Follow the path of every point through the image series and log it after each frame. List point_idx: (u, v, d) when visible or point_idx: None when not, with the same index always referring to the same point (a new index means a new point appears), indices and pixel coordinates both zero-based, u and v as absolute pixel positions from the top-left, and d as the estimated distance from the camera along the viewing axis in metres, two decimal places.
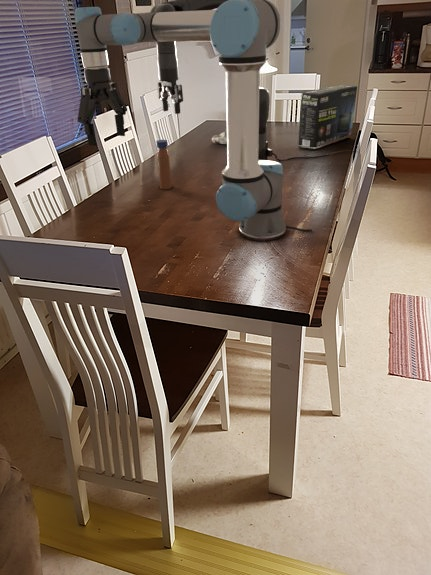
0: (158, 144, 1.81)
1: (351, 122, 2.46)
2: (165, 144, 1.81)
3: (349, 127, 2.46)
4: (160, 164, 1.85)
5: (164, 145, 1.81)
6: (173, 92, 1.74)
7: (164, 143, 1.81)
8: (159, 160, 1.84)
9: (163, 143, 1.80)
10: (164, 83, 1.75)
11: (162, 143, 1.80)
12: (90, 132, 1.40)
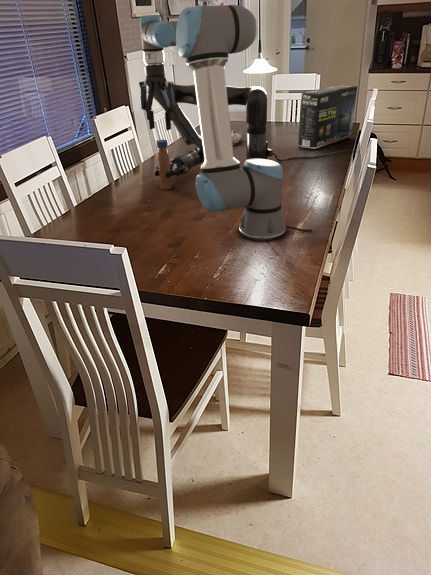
0: (158, 144, 1.81)
1: (351, 122, 2.46)
2: (165, 144, 1.81)
3: (349, 127, 2.46)
4: (160, 164, 1.85)
5: (164, 145, 1.81)
6: None
7: (164, 143, 1.81)
8: (159, 160, 1.84)
9: (163, 143, 1.80)
10: None
11: (162, 143, 1.80)
12: None
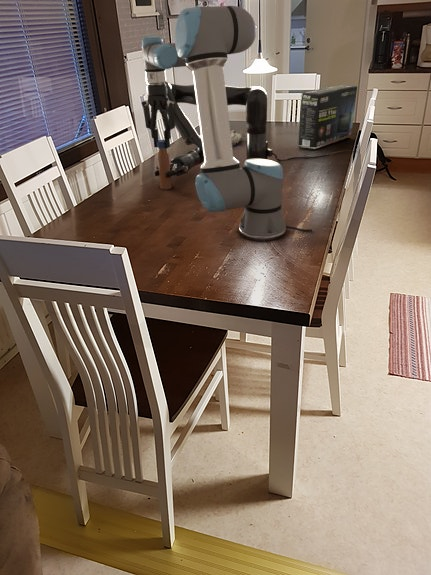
0: (158, 144, 1.81)
1: (351, 122, 2.46)
2: None
3: (349, 127, 2.46)
4: (160, 164, 1.85)
5: (164, 145, 1.81)
6: None
7: (164, 143, 1.81)
8: (159, 160, 1.84)
9: (163, 143, 1.80)
10: None
11: (162, 143, 1.80)
12: None
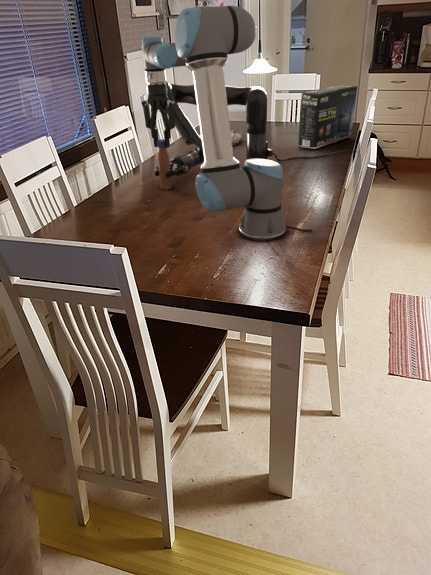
0: None
1: (351, 122, 2.46)
2: None
3: (349, 127, 2.46)
4: (160, 164, 1.85)
5: None
6: None
7: None
8: (159, 160, 1.84)
9: None
10: None
11: None
12: None
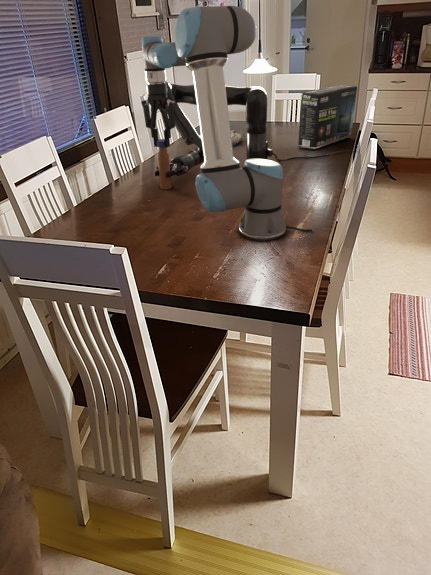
0: None
1: (351, 122, 2.46)
2: (156, 143, 1.82)
3: (349, 127, 2.46)
4: (160, 164, 1.85)
5: None
6: None
7: None
8: (159, 160, 1.84)
9: None
10: None
11: None
12: None
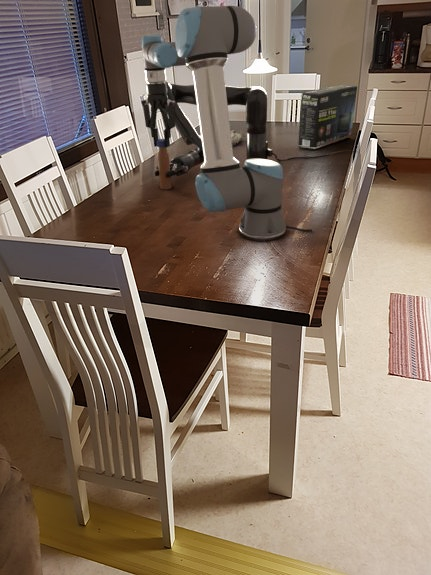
0: (156, 143, 1.81)
1: (351, 122, 2.46)
2: (163, 143, 1.81)
3: (349, 127, 2.46)
4: (160, 164, 1.85)
5: (162, 144, 1.81)
6: None
7: (162, 142, 1.80)
8: (159, 160, 1.84)
9: (161, 142, 1.80)
10: None
11: (160, 142, 1.80)
12: None
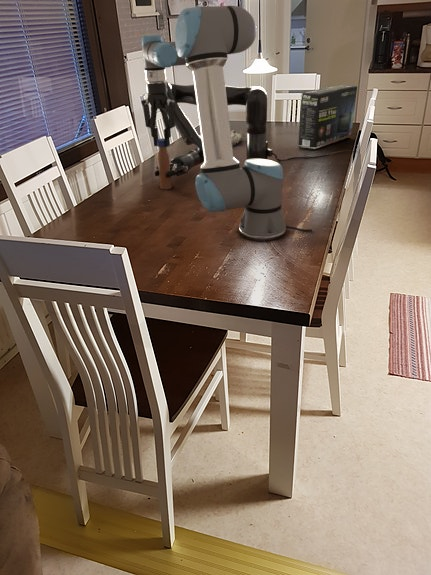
0: None
1: (351, 122, 2.46)
2: None
3: (349, 127, 2.46)
4: (160, 164, 1.85)
5: None
6: None
7: None
8: (159, 160, 1.84)
9: None
10: None
11: None
12: None
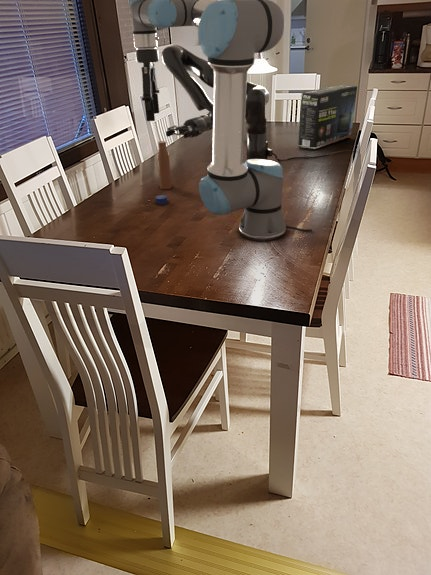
0: None
1: (351, 122, 2.46)
2: None
3: (349, 127, 2.46)
4: (160, 164, 1.85)
5: None
6: None
7: None
8: (159, 160, 1.84)
9: None
10: None
11: None
12: None
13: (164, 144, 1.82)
